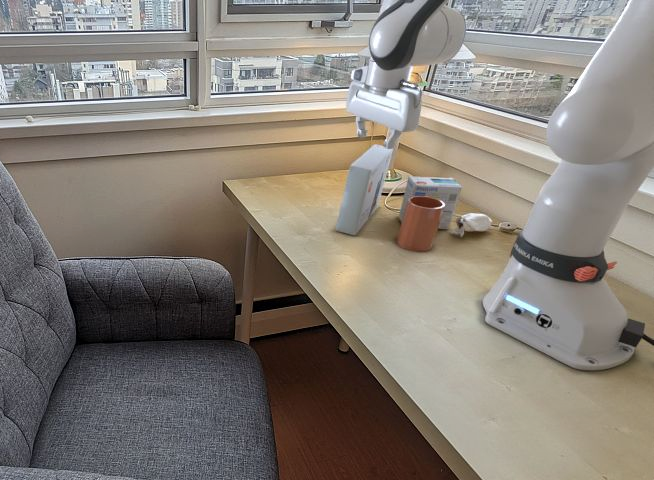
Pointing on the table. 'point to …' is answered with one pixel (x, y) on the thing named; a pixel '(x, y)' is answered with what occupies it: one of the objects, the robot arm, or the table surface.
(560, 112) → the robot arm
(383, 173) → the skincare box
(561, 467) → the table surface
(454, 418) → the table surface
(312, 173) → the table surface
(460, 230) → the bird figurine
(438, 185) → the light bulb box
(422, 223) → the pen cup
